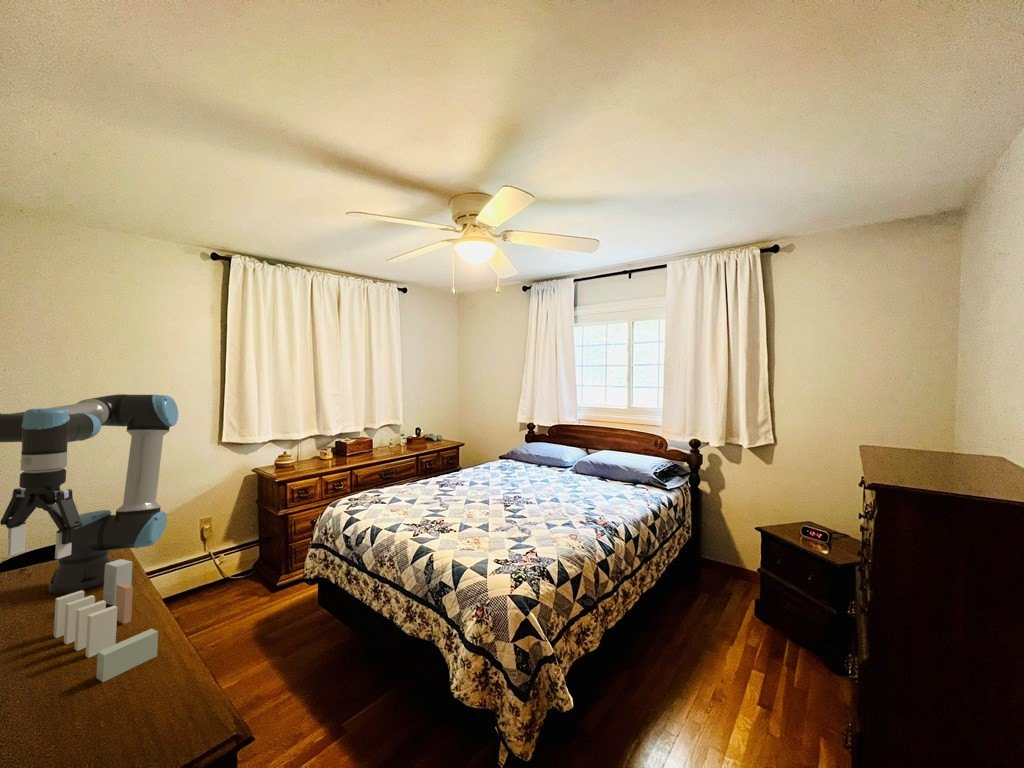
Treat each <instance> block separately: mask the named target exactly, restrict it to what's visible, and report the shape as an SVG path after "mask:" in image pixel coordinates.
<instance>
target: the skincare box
mask: <svg viewBox="0 0 1024 768" xmlns="http://www.w3.org/2000/svg"><path fill="white" fill-rule="evenodd" d="M132 578H133V561H132V560H127V559H124V558H123V559H122V558H119V559H116V560H112V561H111V562H109V563H106V564H105V574H104V584H103V593H102V594H103V595H102V596H103V597H102V600H104V601H106V605H110V606H116V588H117V585H118V584H121V583H126V584H129V585H131V586H132V582H133V581H132Z"/></svg>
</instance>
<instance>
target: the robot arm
mask: <svg viewBox="0 0 1024 768" xmlns="http://www.w3.org/2000/svg"><path fill="white" fill-rule="evenodd" d="M177 421H179V408H178V405H177V403H176V401H175V399H174V398H173V397H172V396H170V395H169V396H168V395H163V394H161V395H160V394H127V393H126V394H121V393H120V394H110V395H104V396H99V397H98V396H97V397H92V398H86V399H82V400H80V401H78V402H76V403H73V404H67V405H59V406H53V407H46V408H29V409H26V410H25V411H19V412H13V413H1V412H0V443H21V451H20V454H21V457H20V458H21V459H20V471H21V472H20V474H19V484H18V485H19V488H14V489H13V490H12V497H11V499H10V501H9V503H8V505H7V508H6V509H5V511H4V514H3V516H2V518H1V520H0V525H1V526H5V527H6V528H8V535H7V536H8V537H7V539H8V546H7V547H8V549H7V556H12V555H16V554H20V553H23V552H26V541H27V540H26V537H27V535H26V534H27V522H26V521H27V520H28V518H30V516H31V515H32V513H34V511H35V510H36V508H38V509H42V510H43V511H44V512H47V513H48V515H49V516H50V518H51V520H52V521H53V522H54V524H55V526H56V527H57V528H58V530H57V531H56V533H55V552H54V559H55V560H58V562H57V567H56V568H55V570H54V573H53V575H52V577H51V578H50V581H49V583H48V592H49V593H51V594H72V593H75V592H78V591H81V590H82V591H84V590H89V589H92V588H95V587H99V586H101V585H104V574H105V564H106V563H109V562H112V560H111V558H110V555H109V552H110V551H114V550H125V549H139V548H145V547H146V548H147V547H151V546H153V545H154V544H156V543H157V542H158V541H159V540H161V539H160V538H161V537H162V536H163V534H164V532H165V529H166V526H167V522H168V517H167V512H166V511H162V510H161V508H162V507H161V505H160V504H159V503H157V495H158V494H157V493H158V486H159V485H158V484H159V475H160V467H161V458H162V450H163V444H164V443H163V441H164V436H165V435H167V433H169V432H170V429H171V428H172V427H174V426H176V425H177ZM102 426H103V427H104V426H105V427H126V433H128V435H130V436H131V438H130V445H129V446H130V447H129V454H128V462H127V469H126V479H125V486H124V494H123V503H122V505H121V506H119V507H118V508H117V509H116V510H115V514H112V511H111V510H110V509H102V510H95V511H90V512H89V511H88V512H87V513H81V514H79V512H78V509H77V505H76V503H75V500H74V496H73V490H72V489H70V488H69V489H64V490H61V486H62V485H63V484H66V482H67V469H65V468H66V467H67V465H68V445H69V444H68V443H72V442H78V441H79V442H81V441H86V440H88V439H91V438H93V437H95V436H97V435H98V434H99V433H100V431H101V428H102ZM170 427H171V428H170ZM22 471H23V472H22Z"/></svg>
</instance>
